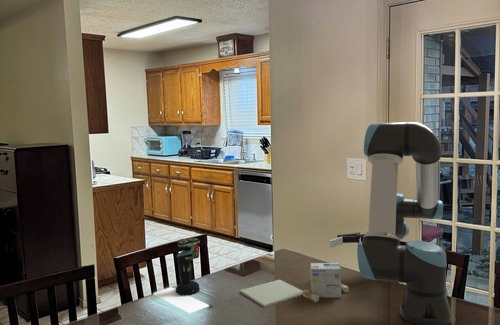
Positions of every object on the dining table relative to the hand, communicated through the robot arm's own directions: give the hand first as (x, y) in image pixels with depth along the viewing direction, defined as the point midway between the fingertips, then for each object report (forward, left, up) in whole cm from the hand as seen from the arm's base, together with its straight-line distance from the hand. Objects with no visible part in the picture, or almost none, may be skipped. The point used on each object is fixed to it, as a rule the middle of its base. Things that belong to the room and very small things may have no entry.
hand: (344, 247), depth 166 cm
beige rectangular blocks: (-1, +10, -15) cm, 18 cm away
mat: (+11, +25, -15) cm, 31 cm away
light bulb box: (-1, +10, -15) cm, 18 cm away
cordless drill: (+31, +49, -15) cm, 60 cm away
